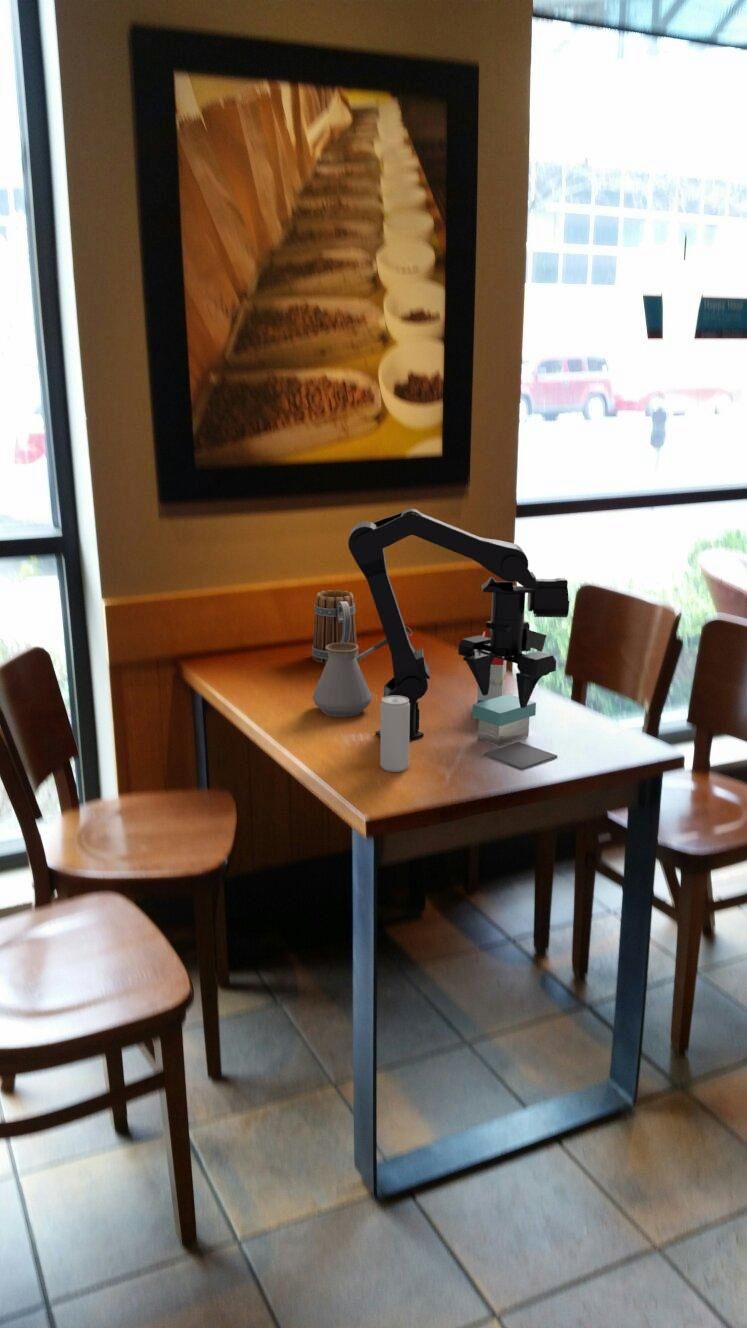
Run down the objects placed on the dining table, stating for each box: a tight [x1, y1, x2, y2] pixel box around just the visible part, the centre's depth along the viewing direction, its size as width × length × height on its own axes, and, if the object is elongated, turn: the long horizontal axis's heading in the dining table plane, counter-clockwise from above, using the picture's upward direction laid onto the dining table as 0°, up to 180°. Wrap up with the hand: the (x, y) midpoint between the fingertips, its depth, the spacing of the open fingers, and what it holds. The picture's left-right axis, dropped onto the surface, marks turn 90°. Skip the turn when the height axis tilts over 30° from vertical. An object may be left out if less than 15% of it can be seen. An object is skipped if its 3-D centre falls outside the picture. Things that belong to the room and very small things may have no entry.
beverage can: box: [379, 695, 410, 773], centre depth 180 cm, size 5×5×12 cm
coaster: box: [482, 741, 558, 771], centre depth 186 cm, size 9×9×1 cm
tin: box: [477, 717, 530, 747], centre depth 195 cm, size 8×5×5 cm, turn 131°
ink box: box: [476, 631, 508, 703], centre depth 209 cm, size 8×5×15 cm, turn 169°
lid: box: [472, 693, 537, 726], centre depth 194 cm, size 9×7×2 cm
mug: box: [311, 589, 359, 665], centre depth 241 cm, size 16×11×15 cm
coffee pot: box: [312, 625, 414, 718], centre depth 210 cm, size 21×12×15 cm, turn 121°
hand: (503, 701), depth 194 cm, fingers open, 9 cm apart
